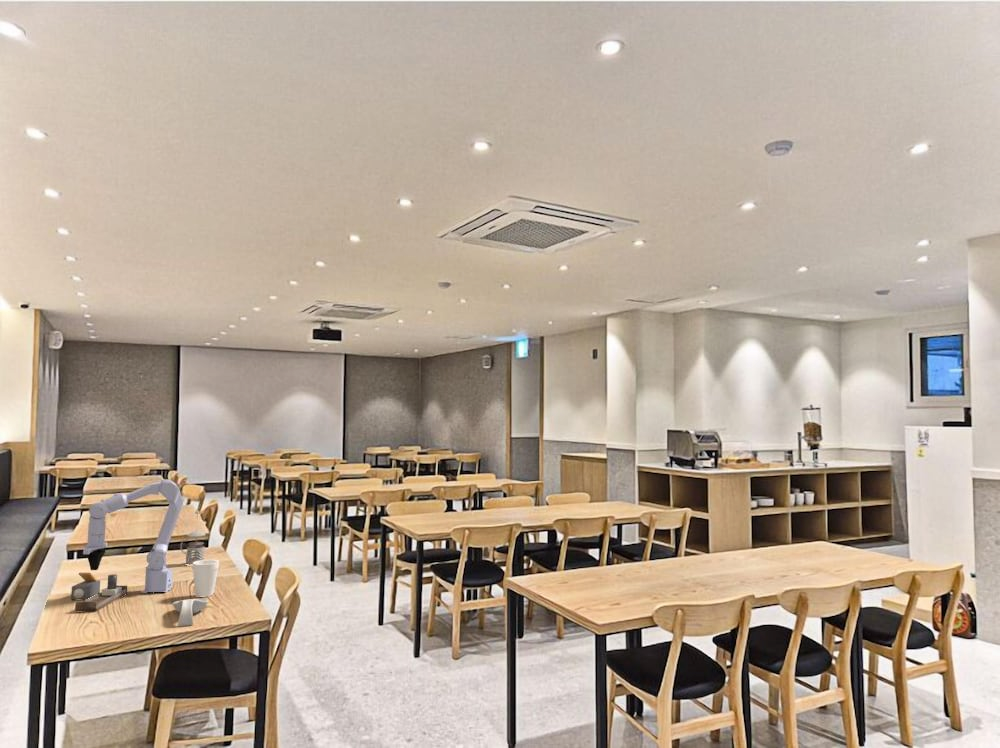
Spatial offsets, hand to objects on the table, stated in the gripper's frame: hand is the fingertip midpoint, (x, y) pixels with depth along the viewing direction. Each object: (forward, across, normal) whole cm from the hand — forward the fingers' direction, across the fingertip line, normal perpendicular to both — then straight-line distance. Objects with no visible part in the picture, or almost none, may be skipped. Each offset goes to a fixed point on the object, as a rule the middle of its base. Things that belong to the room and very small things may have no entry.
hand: (94, 569), depth 260 cm
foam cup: (+10, -2, +41) cm, 42 cm away
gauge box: (+11, -2, -4) cm, 11 cm away
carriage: (+9, 0, +7) cm, 11 cm away
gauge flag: (+4, -2, -4) cm, 6 cm away
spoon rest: (+11, +26, +45) cm, 53 cm away
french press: (+10, -60, +16) cm, 63 cm away
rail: (+10, +7, +7) cm, 15 cm away
